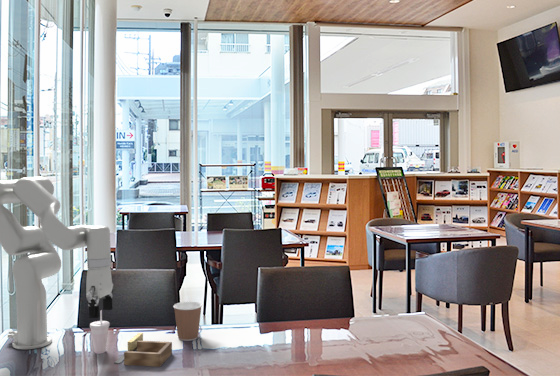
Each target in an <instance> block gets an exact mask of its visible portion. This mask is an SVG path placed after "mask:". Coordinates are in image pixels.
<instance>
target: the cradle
mask: <svg viewBox="0 0 560 376" xmlns="http://www.w3.org/2000/svg"><path fill="white" fill-rule="evenodd" d="M172 354H173V342H172V341H160V340H159V341H158V340H157V341H156V340H154V341H153V340H143V341H139V340H138V341H137V347H136V348H135V349H134V350H132V351H128V350H125V351H124V352H123V354H122V355H121V356H120V357H119V358H118V359H116V360H115V361H114V363H113V364H117V365H118V364H122V363H123V365H124V366H138V367H139V366H140V367H155V368H156V367H157V368H160V367H161V366H162V365H164V363H165V362H166V361H167V360H168V359H169V358H170V357H171V355H172Z"/></svg>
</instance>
